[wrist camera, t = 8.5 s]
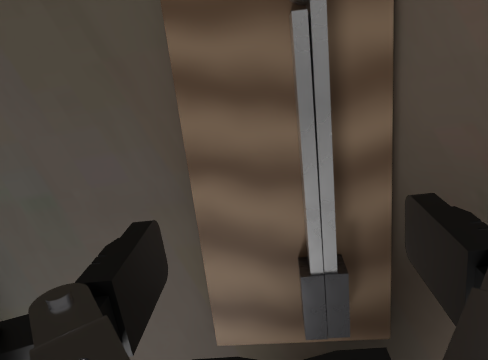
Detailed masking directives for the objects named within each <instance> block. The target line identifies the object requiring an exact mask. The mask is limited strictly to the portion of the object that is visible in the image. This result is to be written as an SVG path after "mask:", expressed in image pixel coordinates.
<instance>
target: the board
mask: <svg viewBox="0 0 488 360" xmlns="http://www.w3.org/2000/svg"><path fill="white" fill-rule="evenodd" d="M160 1H161V7H162V13H163V19H164V25H165V31H166V37H167V43H168V49H169V55H170V61H171V67H172V73H173V80H174V86H175V92H176V98H177V104H178V110H179V116H180V122H181V128H182V134H183V140H184V146H185V152H186V158H187V165H188V171H189V177H190V183H191V189H192V195H193V201H194V207H195V213H196V219H197V225H198V231H199V237H200V243H201V250H202V256H203V262H204V268H205V274H206V280H207V286H208V292H209V298H210V304H211V310H212V316H213V322H214V328H215V335H216V341H217V346H227V345H252V344H276V343H301V342H325V341H350V340H374V339H390V327H391V226H392V125H393V24H394V0H326V2H327V27H328V52H329V76H330V101H331V126H332V151H333V175H334V200H335V225H336V249H337V254H341V255H342V257H343V260H344V263H345V265H346V268H347V271H348V275H349V308H350V337H347V338H328V339H321V340H306V339H305V331H304V323H303V314H302V302H301V290H300V278H299V266H298V258H299V257H307V247H306V233H305V220H304V207H303V193H302V180H301V166H300V153H299V140H298V126H297V113H296V99H295V86H294V73H293V59H292V46H291V32H290V19H289V16H290V13H291V11H297V10H304V9H306V5H297V4H294V3H293V2H291V1H290V0H160Z"/></svg>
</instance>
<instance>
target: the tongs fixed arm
mask: <svg viewBox="0 0 488 360" xmlns="http://www.w3.org/2000/svg"><path fill="white" fill-rule="evenodd" d="M290 1H291V2H293V3H294V4H297V5H306V9H308V25H309V41H310V58H311V74H312V91H313V107H314V124H315V140H316V157H317V173H318V190H319V206H320V223H321V239H322V256H323V272H324V285H325V301H326V318H327V334H328V338H347V337H350V308H349V275H348V271H347V268H346V265H345V263H344V260H343V257H342V255H341V254H337V249H336V225H335V200H334V175H333V151H332V126H331V101H330V76H329V52H328V27H327V2H326V0H290Z"/></svg>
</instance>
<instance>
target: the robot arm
mask: <svg viewBox="0 0 488 360" xmlns="http://www.w3.org/2000/svg"><path fill="white" fill-rule="evenodd" d="M405 247H406V252H407V255H408V258H409V260H410V262H411V263H412V265H413V266H414V268H415V269H416V271H417V272H418V273H419V275H420V276H421V278H422V279H423V280H424V282H425V283H426V285H427V286H428V288H429V289H430V290H431V292H432V293H433V295H434V296H435V297H436V299H437V300H438V302H439V303H440V305H441V306H442V307H443V309H444V310H445V312H446V313H447V315H448V316H449V317H450V319H451V320H452V322H453V323H454V324H455V326H456V328H455V331H454V333H453V336H452V338H451V341H450V343H449V345H448V348H447V350H446V353H445V355H444V358H443V360H488V225H487V224H485V223H484V222H481V220H480V219H479V218H477V217H476V216H475V215H473V214H472V213H471V212H468V211H465V210H463V209H460V208H458V207H455V206H452V207H451V206H450V205H448V204H447V203H446V202H445V201H443V200H442V199H441V198H440V197H438V196H437V195H436V194H435V193H427V194H417V195H408V196H407V197H406V201H405ZM167 276H168V264H167V259H166V254H165V250H164V245H163V241H162V237H161V232H160V228H159V225H158V223H157V221H155V220H153V221H143V222H133V223H132V224H131V225H130V226H129V227H128V229H127V230H126V231H125V232H124V234H123V235H122V236H121V237H120V238H117V239H116V240H114V241H113V242H111V243H110V244H108V245H107V246H105V248H104V249H103V250H102V251H101V252H100V253H99V255H98V257H96V258H95V259H94V261H93V262H92V264H91V265H89V266H88V268H87V269H86V270H85V271H84V272H83V274H82V275H81V276H80V277H79V278H78V279H77V281H76V282H75V283H71V284H66V285H62V286H59V287H56V288H54V289H51V290H49V291H47V292H46V293H44V294H42V295H41V296H39V297H38V298H37V299H36V300H35V301H34V302H33V303H32V304H31V305H30V307H29V311H28V313H29V314H27V315H23V316H20V317H16V318H12V319H9V320H5V321H1V322H0V360H130V358H129V357H128V356H133V355H134V353H135V351H136V348H137V346H138V344H139V342H140V339H141V337H142V335H143V333H144V330H145V328H146V326H147V324H148V321H149V319H150V317H151V315H152V312H153V310H154V308H155V306H156V303H157V301H158V299H159V297H160V294H161V292H162V290H163V288H164V285H165V283H166V281H167ZM194 360H255V359H249V358H242V357H226V358H210V359H194ZM304 360H391V358H390V356H389V353H388V351H387V348H371V349H355V350H339V351H333V352H330V353H326V354H323V355H319V356H315V357H312V358H308V359H304Z"/></svg>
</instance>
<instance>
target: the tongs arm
mask: <svg viewBox="0 0 488 360" xmlns="http://www.w3.org/2000/svg"><path fill="white" fill-rule="evenodd" d="M289 19H290V32H291V46H292V59H293V73H294V86H295V99H296V113H297V126H298V140H299V153H300V166H301V180H302V193H303V207H304V220H305V233H306V247H307V257H299V258H298V266H299V278H300V290H301V302H302V314H303V323H304V331H305V339H306V340H321V339H328V334H327V318H326V301H325V285H324V272H323V256H322V239H321V223H320V206H319V190H318V173H317V157H316V140H315V124H314V107H313V91H312V74H311V58H310V41H309V25H308V9H304V10H297V11H291V13H290V16H289Z"/></svg>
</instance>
